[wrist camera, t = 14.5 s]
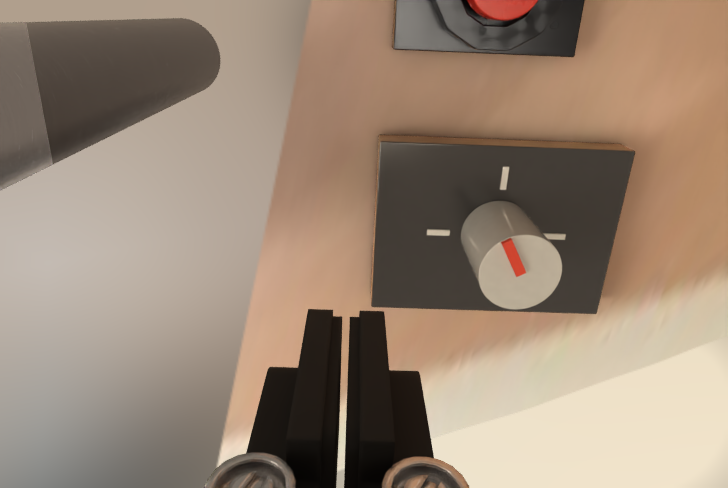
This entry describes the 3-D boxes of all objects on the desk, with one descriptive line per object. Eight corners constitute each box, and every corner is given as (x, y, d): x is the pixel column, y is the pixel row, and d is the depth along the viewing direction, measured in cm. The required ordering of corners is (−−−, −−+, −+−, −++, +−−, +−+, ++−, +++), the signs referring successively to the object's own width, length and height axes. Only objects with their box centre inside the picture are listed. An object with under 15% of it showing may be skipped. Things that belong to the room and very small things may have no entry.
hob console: (370, 293, 37) (371, 308, 35) (378, 134, 33) (379, 141, 31) (585, 299, 38) (597, 315, 36) (620, 143, 33) (637, 151, 31)
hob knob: (541, 248, 34) (575, 292, 29) (476, 276, 35) (498, 324, 29) (517, 188, 32) (548, 222, 27) (449, 219, 33) (466, 259, 28)
